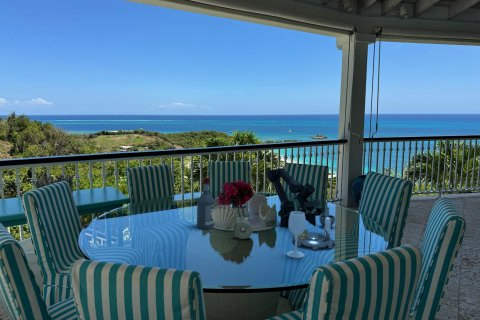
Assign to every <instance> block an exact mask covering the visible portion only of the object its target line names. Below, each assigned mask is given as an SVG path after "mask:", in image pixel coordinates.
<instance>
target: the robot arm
mask: <svg viewBox="0 0 480 320" xmlns="http://www.w3.org/2000/svg"><path fill="white" fill-rule="evenodd" d="M265 175H266V177H267V179H268V181H269V182H271V184H272V185H273V187H274V190H275V192H276V195H277V196H278V199H279V201H280V207H279V208H280V209H279V210H278V212H277V216H278V217H280V223H279V227H280V228H281V227H283V228H289V225H288V224H289V217H290V213H291V212H293V211H299V212H303V213H304V214H305V221H307V222H308V223H309V224H311V225H312V226H313V227H316V226H317V222H316V219H317V218H316V217H318V216H319V215H322V214H323V213H325V208H324V207H322V206H319V205H320V204H321V203H320V200H319V198H316V199H314V200H309V199H308V198H310V197H311V196H312V195H313V194H314V193H315V191H316V188H315V186H313V185H312V184H310V183H309V182H306V183H305V184H304V185H303V183H301V182H300V181H297V180H295V179H294V178H293V177H292V176H291V175H290V173H288V172H287V171H286V169H285V168H283V167H281V168H280V167H278V168H274V169H268V170H267V171H266V174H265ZM281 179H282V180H283V181H284V182H285V183H286V184H287V186H288V190H289V191H290V192H291V194H292V195H293V194H295V195H294V198H293V200H295V201H297V202H298V204H299V206H298V207H299V209H297V210H296V208H295V207H296V206H295V205H294V202H293V200H289V198H288V196H287V194H286V192H285V189H284V187H283V185H282V182H281Z"/></svg>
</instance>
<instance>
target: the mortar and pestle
mask: <svg viewBox="0 0 480 320" xmlns="http://www.w3.org/2000/svg"><path fill="white" fill-rule="evenodd" d="M325 217H329V218H331V226H330V230H331V229H332V228H333V225H334V224H335V222H336V216H334V215H332V214H331V215H330V207H329V206H324V214H320V215H319V217H318V218H319V222H320V225H321V228H322V229H325Z"/></svg>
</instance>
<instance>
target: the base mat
mask: <svg viewBox="0 0 480 320" xmlns="http://www.w3.org/2000/svg"><path fill="white" fill-rule="evenodd" d="M291 243H292V245H294V246H295V242H293V241H292V240H291ZM335 246H336V243H335V244H332V248H329V249H328V248H322V249H312V248H307V247H303V246H301V247H300V246H297V248H300V249H304V250H309V251H316V252H317V251H329V250H332V249H334V248H335Z"/></svg>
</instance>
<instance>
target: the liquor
mask: <svg viewBox="0 0 480 320" xmlns="http://www.w3.org/2000/svg"><path fill="white" fill-rule="evenodd" d="M210 179H211V178H210V177H208V176H207V177H203V187H202V190H203V191H202V194H201V195H200V196H199V197H198V199H197V200H196V227H197V228H198V229H200V230H211V229H213V226H214V227H215V222H214V223H213V219H212V212H213V210H214V209H215V208H216V200H215V198H214V197H213V196H212V195H211V193H210V181H211V180H210ZM215 210H216V209H215Z"/></svg>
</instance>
